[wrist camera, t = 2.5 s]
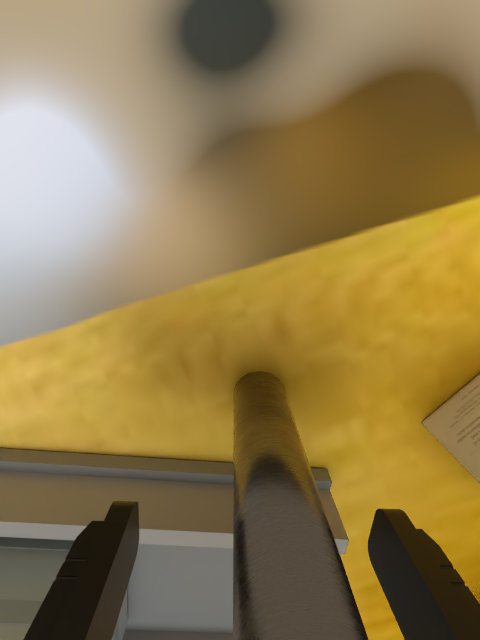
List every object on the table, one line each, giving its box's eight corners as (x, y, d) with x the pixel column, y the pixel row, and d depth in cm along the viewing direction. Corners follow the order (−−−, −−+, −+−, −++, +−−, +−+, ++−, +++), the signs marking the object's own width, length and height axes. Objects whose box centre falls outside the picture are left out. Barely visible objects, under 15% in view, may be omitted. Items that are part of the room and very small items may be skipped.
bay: (326, 468, 18) (410, 674, 10) (291, 633, 22) (328, 880, 14) (-58, 444, 17) (-356, 649, 8) (-19, 621, 21) (-193, 880, 13)
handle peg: (287, 373, 16) (414, 687, 5) (280, 418, 17) (376, 781, 6) (236, 369, 16) (240, 682, 5) (231, 414, 17) (226, 778, 5)
